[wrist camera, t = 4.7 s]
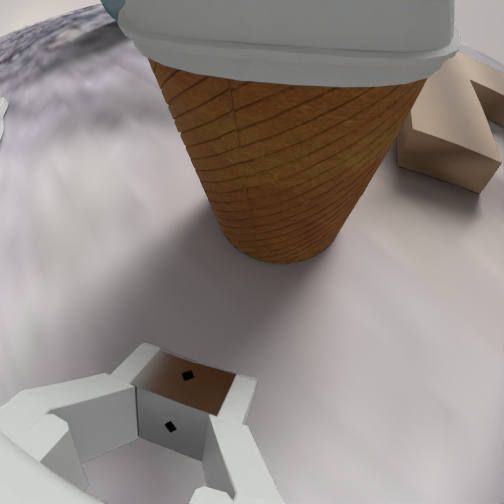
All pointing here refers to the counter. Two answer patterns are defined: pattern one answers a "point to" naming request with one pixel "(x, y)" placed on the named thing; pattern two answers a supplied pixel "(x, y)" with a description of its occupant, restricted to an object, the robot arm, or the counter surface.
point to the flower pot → (113, 7)
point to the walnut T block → (455, 124)
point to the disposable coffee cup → (289, 103)
